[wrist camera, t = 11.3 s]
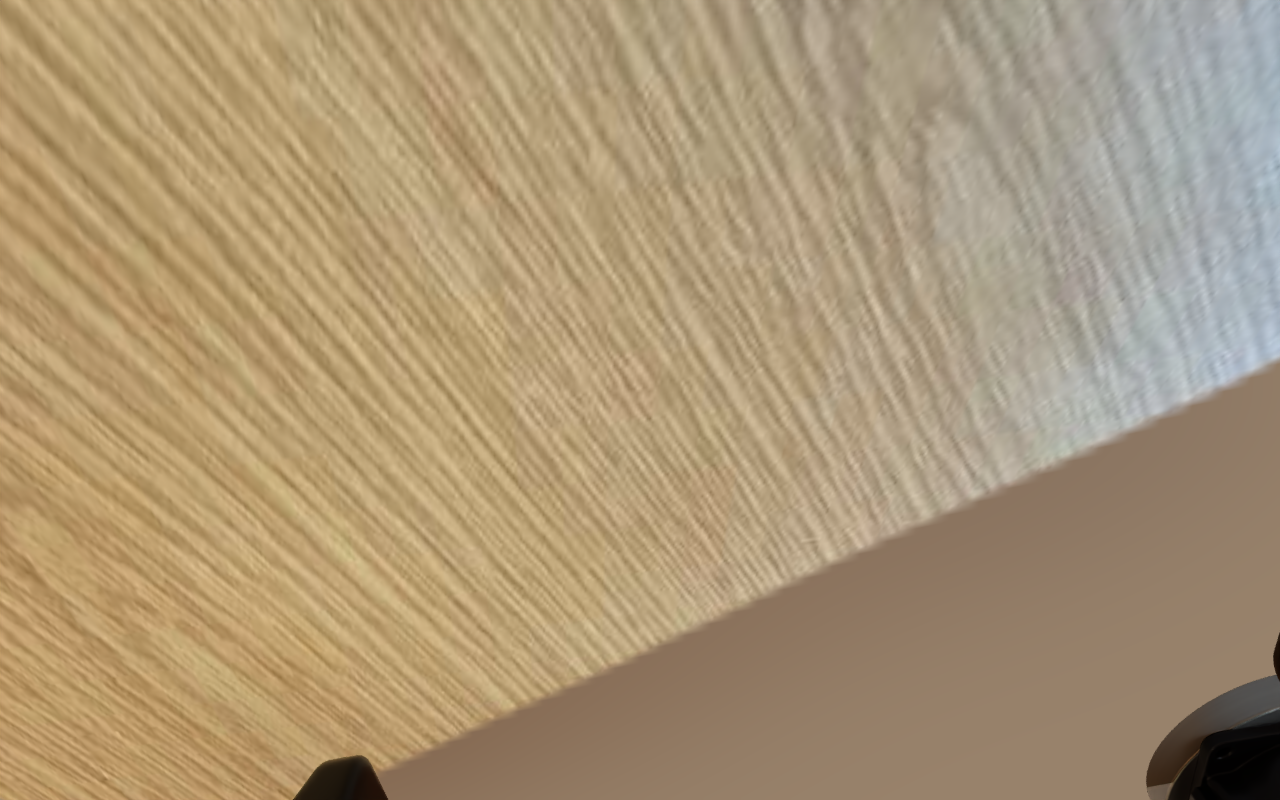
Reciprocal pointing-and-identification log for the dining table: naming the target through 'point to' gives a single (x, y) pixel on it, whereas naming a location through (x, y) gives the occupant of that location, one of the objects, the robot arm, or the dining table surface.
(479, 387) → the dining table surface
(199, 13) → the dining table surface
